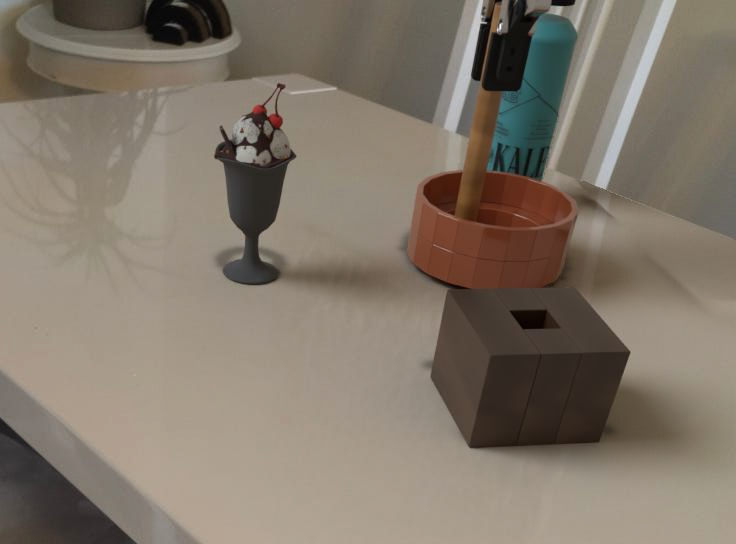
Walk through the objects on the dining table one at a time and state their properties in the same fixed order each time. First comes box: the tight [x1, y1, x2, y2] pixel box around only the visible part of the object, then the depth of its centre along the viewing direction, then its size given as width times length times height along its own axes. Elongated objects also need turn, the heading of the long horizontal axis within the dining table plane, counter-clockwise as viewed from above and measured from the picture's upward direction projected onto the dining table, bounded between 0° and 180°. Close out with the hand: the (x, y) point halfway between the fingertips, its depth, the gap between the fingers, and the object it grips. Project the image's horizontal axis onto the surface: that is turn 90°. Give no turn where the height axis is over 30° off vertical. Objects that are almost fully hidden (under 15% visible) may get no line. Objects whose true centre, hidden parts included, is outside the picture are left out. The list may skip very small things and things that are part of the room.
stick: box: [454, 2, 516, 222], centre depth 82 cm, size 2×2×18 cm
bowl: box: [406, 169, 579, 289], centre depth 88 cm, size 14×14×6 cm
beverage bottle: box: [487, 0, 579, 182], centre depth 96 cm, size 6×7×20 cm
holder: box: [430, 286, 631, 448], centre depth 70 cm, size 10×10×7 cm
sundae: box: [213, 82, 298, 285], centre depth 81 cm, size 7×7×15 cm
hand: (495, 83), depth 80 cm, fingers closed on stick, 2 cm apart
